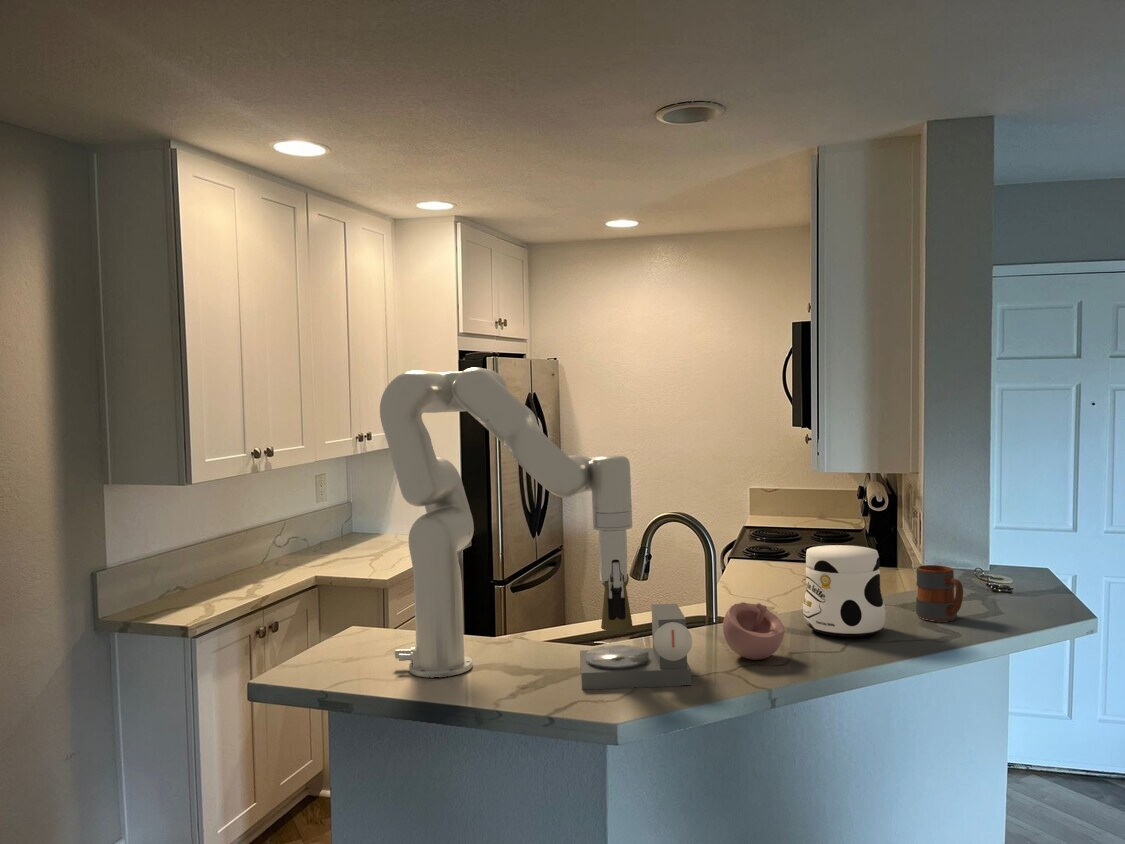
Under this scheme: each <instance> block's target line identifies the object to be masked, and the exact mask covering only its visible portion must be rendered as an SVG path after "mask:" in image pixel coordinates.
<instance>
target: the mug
mask: <svg viewBox="0 0 1125 844" xmlns="http://www.w3.org/2000/svg"><path fill="white" fill-rule="evenodd" d="M954 573H955V572H954V570H953V568H952V567H949V566H945V565H937V564H935V565H933V564H928V565H927V564H926V565H920V566H917V568H916V587H917V596H916V601H915V613H916V615H917V617H918V616H919V617H921V618H924V619H928V620H934V621H951V622H954V621H955V620H954V619H956V618H957V616H958V612H959V611H960V609H961V607H962V604H963V599H964V598H963V597H964V587H963V584H962V583H961V581H960V580H958V579H957V578H955V574H954ZM919 617H918V618H919ZM953 620H954V621H953Z"/></svg>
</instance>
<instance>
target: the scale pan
mask: <svg viewBox="0 0 1125 844" xmlns="http://www.w3.org/2000/svg"><path fill="white" fill-rule="evenodd" d="M648 660H649V654H648V652H647V651H646V650H645V649H642V647H639V646H636V645H627V644H610V645H602V646H597V647H594V648H591V649H589V651H588V652H587V653H586V662H587V663H588V664H590V665H592V666H595V667H599V668H605V669H627V668H634V667H638V666H641V665H643V664H645V663H647V662H648Z"/></svg>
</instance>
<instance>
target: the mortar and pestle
mask: <svg viewBox="0 0 1125 844" xmlns="http://www.w3.org/2000/svg"><path fill="white" fill-rule="evenodd" d="M722 632H723V637H724V639H725V642H726V644H727V645H728V647H729V648H730V649H731V650H732V651H733V652H734V653H735V654H737V655H738V656H739V657H741V658H744V659H747V660H754V661H755V660H756V661H758V660H763V659H766V658H768V657H771V656H772V655H773V654H775V652H777V650H779V649H780V646H781V645H782V643H783V640H784V637H785V632H786V631H785V627H784V624H783V623H782V621H781V620H780V618H779V617H778V616H777V615H776V614H774V613H773V612H771V611H770V610H769V609H768V608H767V606H766V605H763V604H761V603H760V602H756V604H755V603H748V602H743V601H741V602H738V603H734V604H732V605H731V606H730V607H729V608H728V610H727V611H726V613H725V615H724V617H723V621H722Z"/></svg>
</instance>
